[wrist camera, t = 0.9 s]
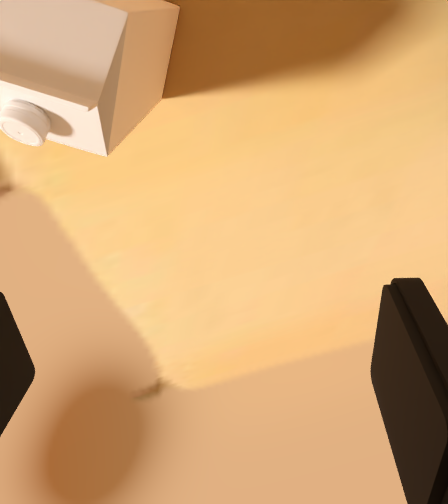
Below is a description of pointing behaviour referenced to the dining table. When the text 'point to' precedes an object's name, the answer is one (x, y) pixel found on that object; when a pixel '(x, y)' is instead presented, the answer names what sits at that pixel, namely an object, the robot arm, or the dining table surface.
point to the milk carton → (82, 68)
